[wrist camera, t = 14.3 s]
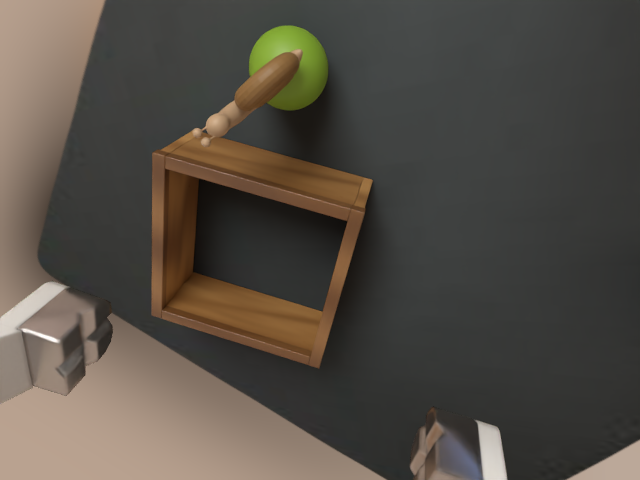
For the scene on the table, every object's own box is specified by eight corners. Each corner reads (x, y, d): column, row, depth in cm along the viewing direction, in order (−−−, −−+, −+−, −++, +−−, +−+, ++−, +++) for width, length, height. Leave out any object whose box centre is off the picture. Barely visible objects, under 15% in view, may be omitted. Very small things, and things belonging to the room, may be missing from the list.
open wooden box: (192, 128, 37) (151, 152, 32) (374, 178, 36) (364, 213, 31) (184, 276, 46) (151, 315, 40) (332, 321, 44) (318, 368, 39)
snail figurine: (240, 67, 34) (160, 103, 24) (300, 5, 31) (236, 14, 21) (288, 123, 35) (231, 179, 25) (349, 68, 32) (312, 106, 22)
